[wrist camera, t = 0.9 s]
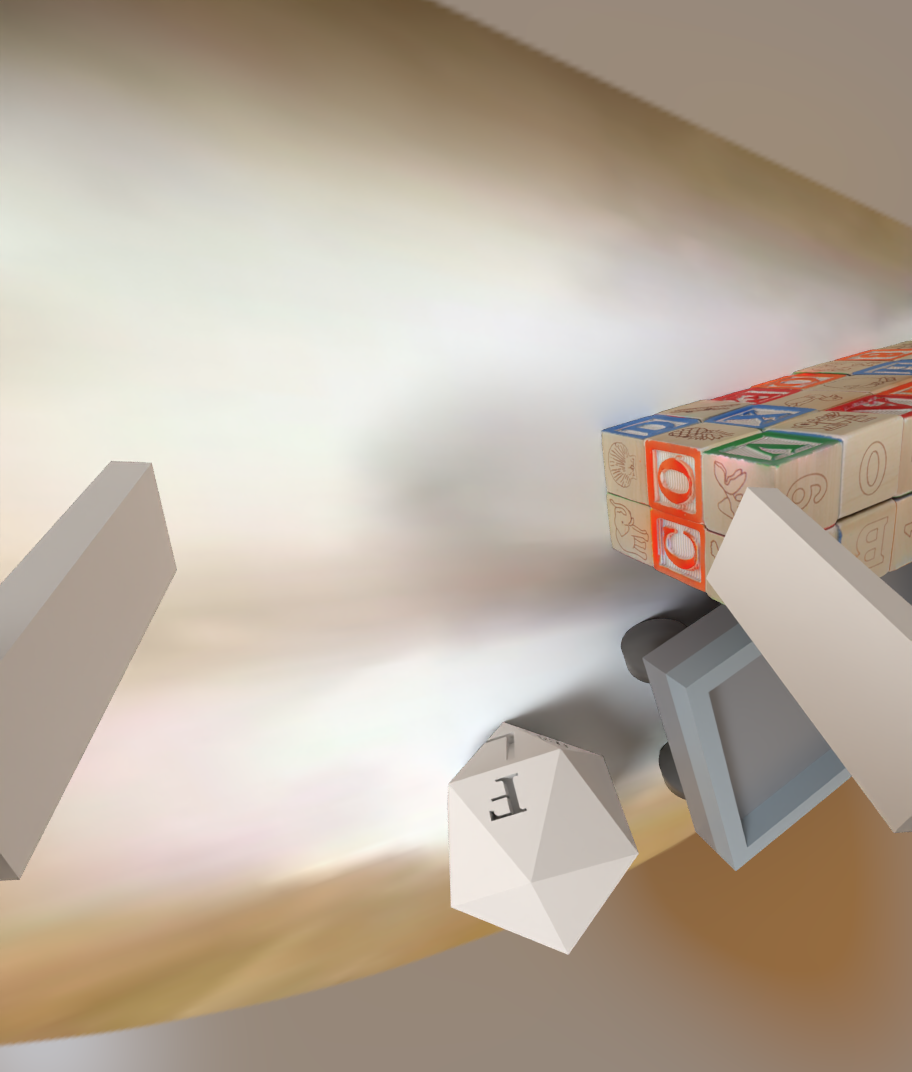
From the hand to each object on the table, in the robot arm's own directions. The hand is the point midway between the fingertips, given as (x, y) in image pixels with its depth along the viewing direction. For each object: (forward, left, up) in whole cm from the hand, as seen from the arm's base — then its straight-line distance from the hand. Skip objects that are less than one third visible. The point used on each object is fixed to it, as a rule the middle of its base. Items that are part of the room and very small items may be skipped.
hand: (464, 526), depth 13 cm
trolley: (+20, +16, -10) cm, 27 cm away
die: (+18, -1, -10) cm, 21 cm away
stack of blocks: (+9, +20, -10) cm, 24 cm away
